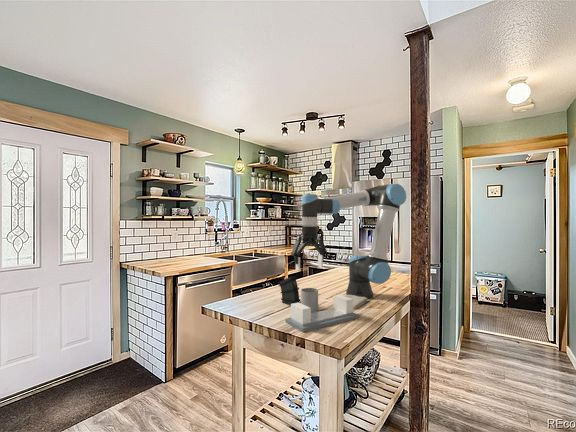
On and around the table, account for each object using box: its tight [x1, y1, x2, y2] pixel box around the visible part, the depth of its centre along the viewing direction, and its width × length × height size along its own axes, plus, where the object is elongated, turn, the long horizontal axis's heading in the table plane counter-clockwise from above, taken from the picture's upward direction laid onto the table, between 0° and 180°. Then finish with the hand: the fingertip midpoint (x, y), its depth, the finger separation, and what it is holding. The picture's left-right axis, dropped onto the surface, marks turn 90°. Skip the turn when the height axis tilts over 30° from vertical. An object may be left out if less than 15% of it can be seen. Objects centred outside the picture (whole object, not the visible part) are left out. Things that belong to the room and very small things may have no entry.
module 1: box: [290, 302, 311, 324], centre depth 127 cm, size 4×9×6 cm, turn 32°
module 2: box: [332, 294, 354, 314], centre depth 140 cm, size 4×9×6 cm, turn 32°
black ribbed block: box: [278, 275, 301, 307], centre depth 156 cm, size 4×13×15 cm, turn 39°
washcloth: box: [344, 294, 368, 310], centre depth 158 cm, size 12×18×3 cm, turn 146°
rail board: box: [285, 312, 360, 333], centre depth 133 cm, size 31×13×2 cm, turn 122°
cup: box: [300, 287, 319, 313], centre depth 147 cm, size 8×8×10 cm
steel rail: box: [290, 308, 354, 326], centre depth 133 cm, size 28×9×1 cm, turn 122°
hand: (309, 269), depth 146 cm, fingers open, 13 cm apart
